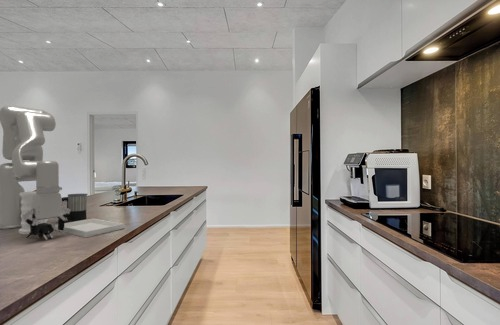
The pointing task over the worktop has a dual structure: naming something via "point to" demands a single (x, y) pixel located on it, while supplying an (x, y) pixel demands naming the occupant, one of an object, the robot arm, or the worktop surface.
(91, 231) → the tray
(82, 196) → the milk frother
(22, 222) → the decorative container
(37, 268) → the worktop surface
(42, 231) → the power plug
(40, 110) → the robot arm
